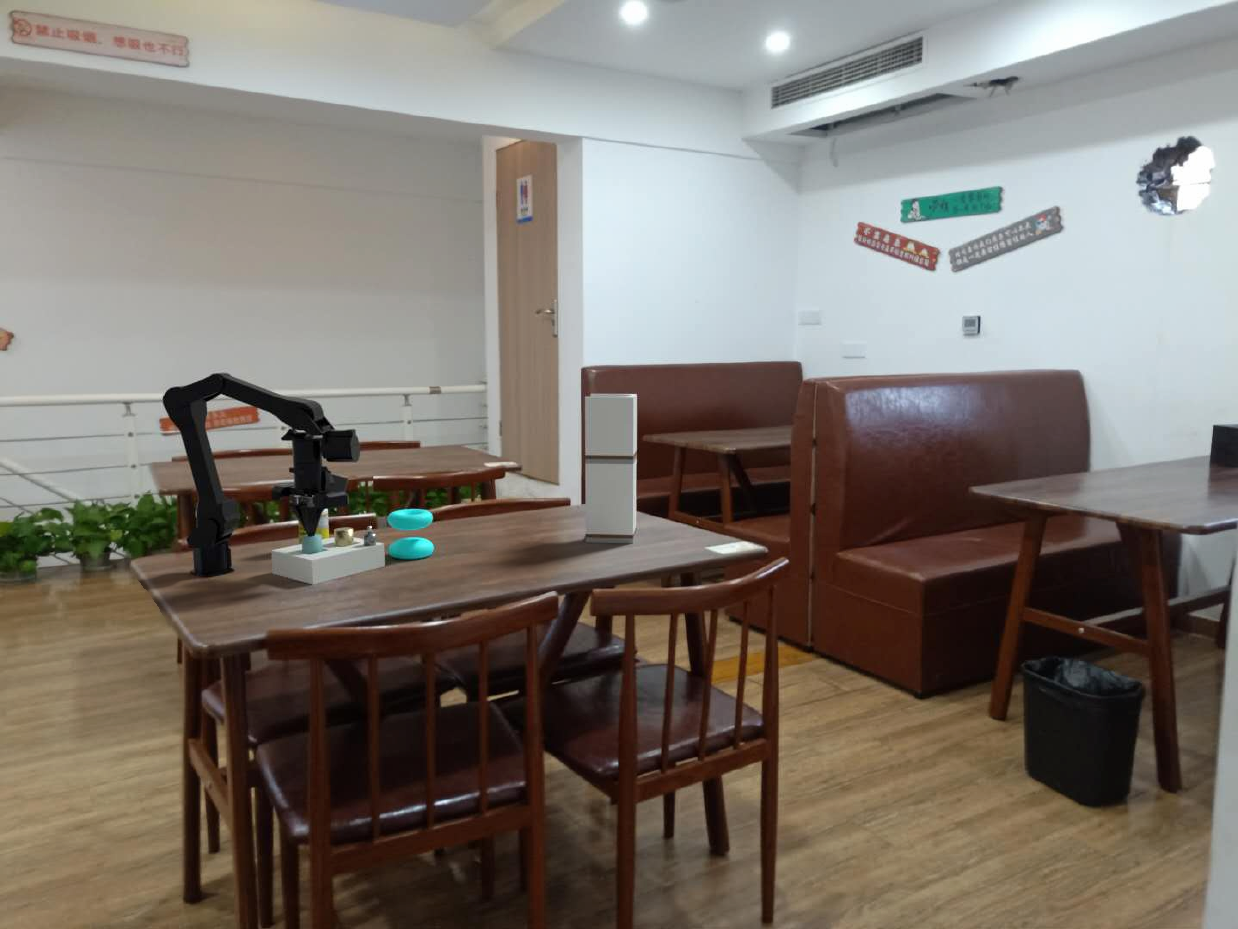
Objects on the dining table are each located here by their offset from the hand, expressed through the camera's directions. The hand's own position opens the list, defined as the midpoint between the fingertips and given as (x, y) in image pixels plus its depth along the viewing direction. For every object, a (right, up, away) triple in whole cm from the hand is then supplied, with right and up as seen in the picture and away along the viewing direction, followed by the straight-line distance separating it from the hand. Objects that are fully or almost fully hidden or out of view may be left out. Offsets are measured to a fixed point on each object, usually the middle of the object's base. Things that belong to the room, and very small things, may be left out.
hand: (311, 536), depth 189 cm
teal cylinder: (0, -7, +1) cm, 7 cm away
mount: (+2, -8, +4) cm, 9 cm away
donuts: (+17, -6, +17) cm, 25 cm away
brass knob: (+5, -6, +7) cm, 11 cm away
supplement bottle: (-7, -5, +22) cm, 24 cm away
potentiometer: (+11, -2, +6) cm, 12 cm away
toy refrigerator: (+62, -3, +34) cm, 71 cm away
